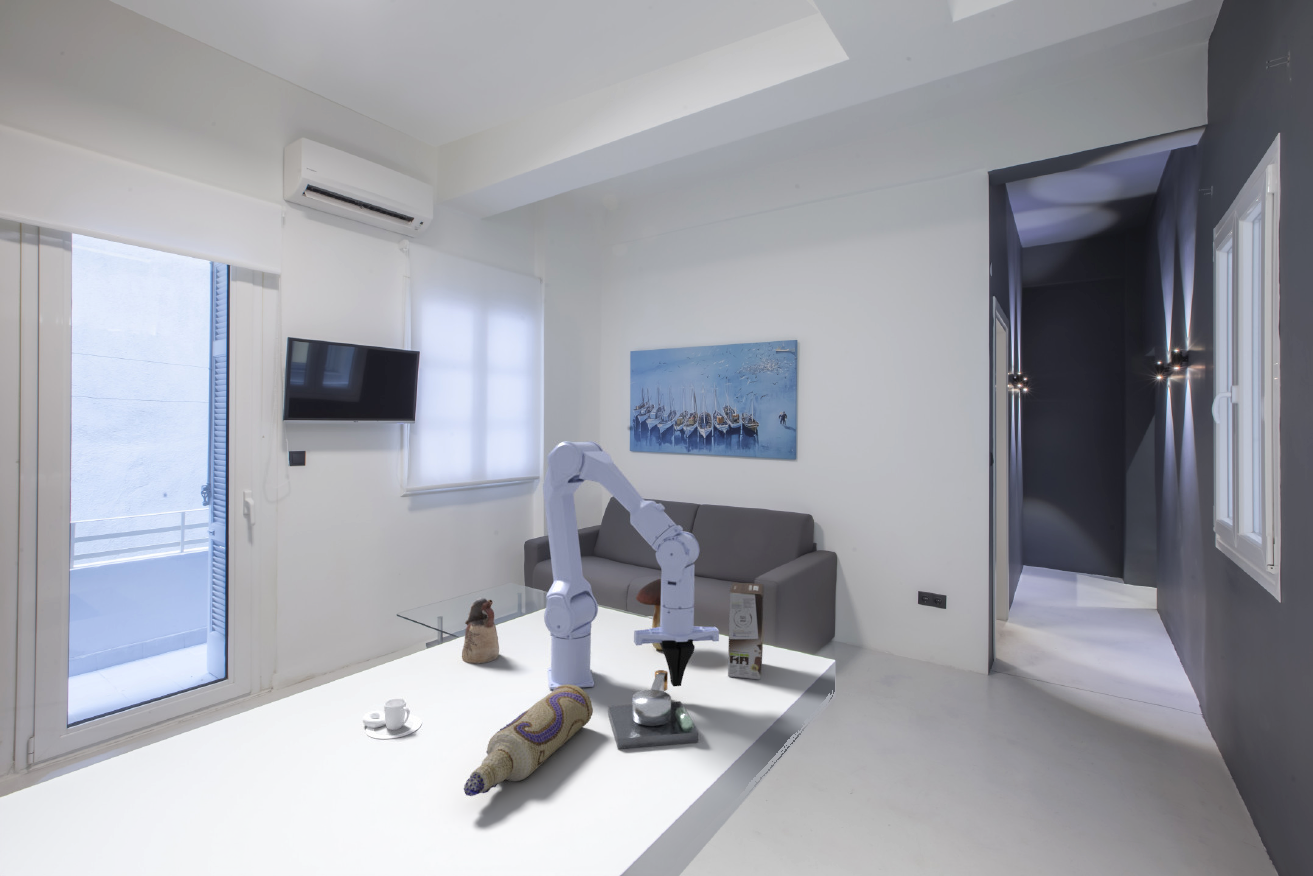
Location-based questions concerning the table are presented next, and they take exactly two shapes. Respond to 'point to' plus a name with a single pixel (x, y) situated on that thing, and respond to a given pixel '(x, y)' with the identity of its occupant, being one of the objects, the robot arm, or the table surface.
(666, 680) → the silver pan
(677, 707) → the plate
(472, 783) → the decorative bottle
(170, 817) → the table surface
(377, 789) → the table surface
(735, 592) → the coffee box
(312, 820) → the table surface
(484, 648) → the figurine
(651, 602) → the decorative mushroom
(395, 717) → the teacup and saucer
